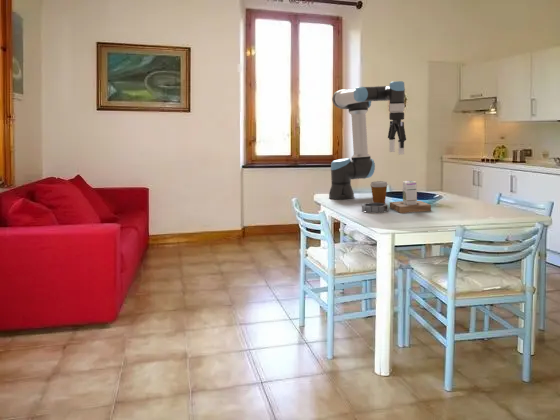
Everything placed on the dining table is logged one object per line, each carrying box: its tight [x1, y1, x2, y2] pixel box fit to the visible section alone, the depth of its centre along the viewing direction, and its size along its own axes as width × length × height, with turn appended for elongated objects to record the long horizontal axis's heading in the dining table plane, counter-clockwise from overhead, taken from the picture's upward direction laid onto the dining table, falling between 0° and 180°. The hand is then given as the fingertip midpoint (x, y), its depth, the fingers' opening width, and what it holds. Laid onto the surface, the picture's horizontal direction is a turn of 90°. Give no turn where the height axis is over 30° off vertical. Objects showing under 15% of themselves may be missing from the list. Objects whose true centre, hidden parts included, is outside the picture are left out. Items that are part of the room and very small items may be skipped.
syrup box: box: [402, 180, 418, 205], centre depth 264 cm, size 6×6×14 cm
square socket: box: [389, 200, 432, 214], centre depth 265 cm, size 16×16×3 cm
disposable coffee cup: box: [370, 180, 389, 203], centre depth 285 cm, size 10×10×12 cm
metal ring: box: [361, 202, 388, 213], centre depth 267 cm, size 13×13×3 cm
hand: (396, 153), depth 269 cm, fingers open, 13 cm apart
